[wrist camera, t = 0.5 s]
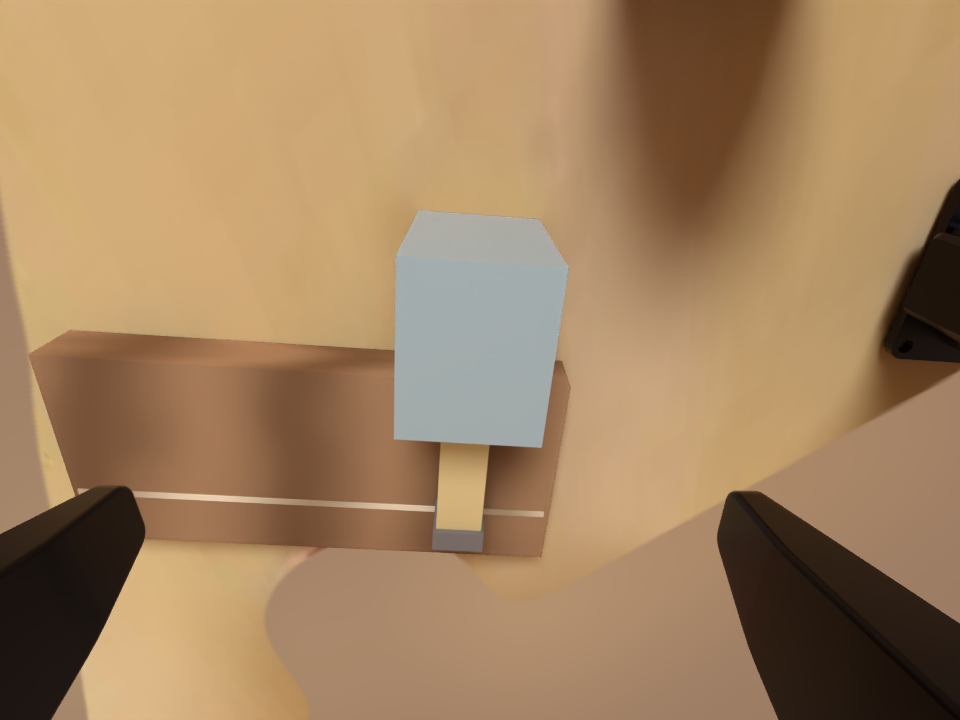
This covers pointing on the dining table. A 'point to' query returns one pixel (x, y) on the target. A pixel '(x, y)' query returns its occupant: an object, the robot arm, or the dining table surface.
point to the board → (273, 444)
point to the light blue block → (474, 350)
